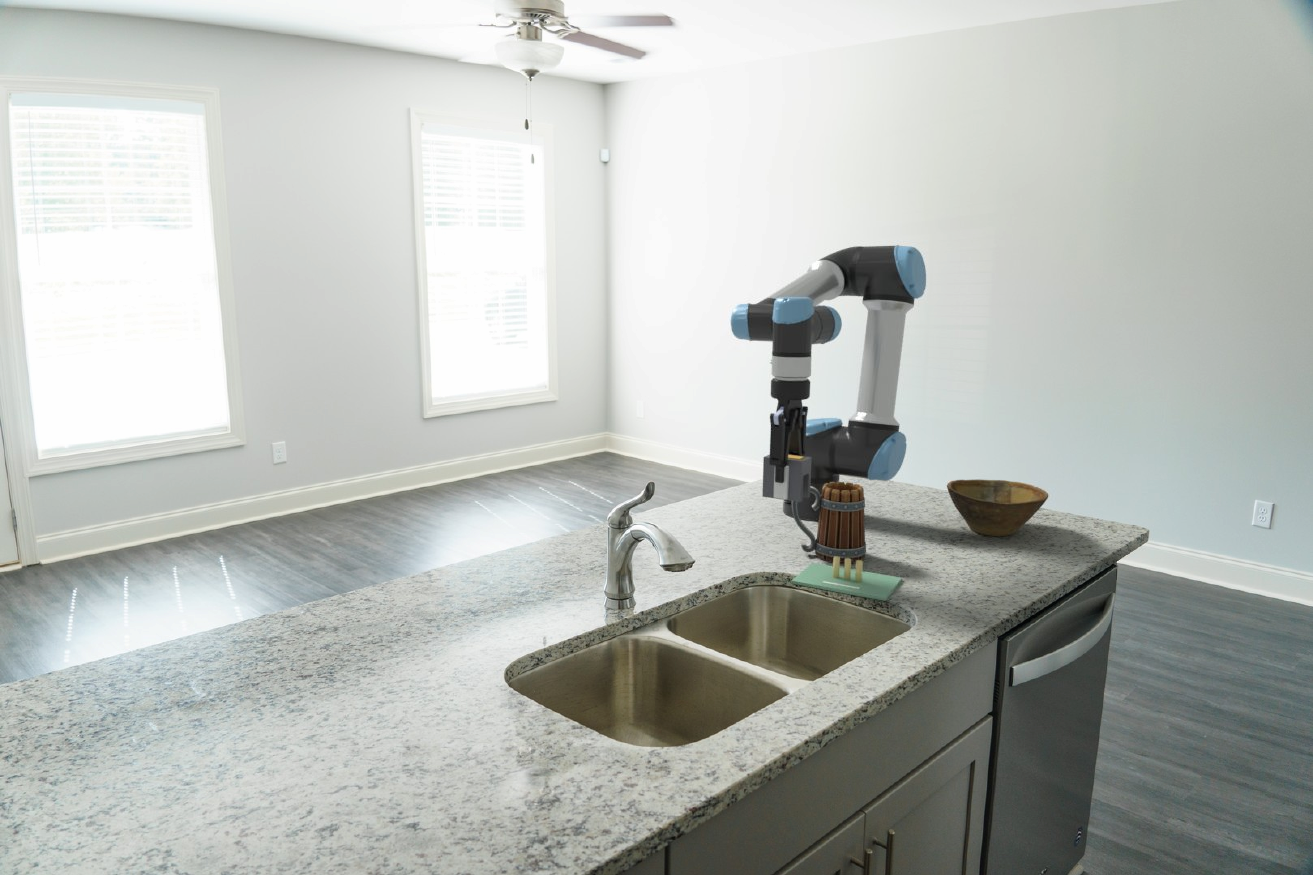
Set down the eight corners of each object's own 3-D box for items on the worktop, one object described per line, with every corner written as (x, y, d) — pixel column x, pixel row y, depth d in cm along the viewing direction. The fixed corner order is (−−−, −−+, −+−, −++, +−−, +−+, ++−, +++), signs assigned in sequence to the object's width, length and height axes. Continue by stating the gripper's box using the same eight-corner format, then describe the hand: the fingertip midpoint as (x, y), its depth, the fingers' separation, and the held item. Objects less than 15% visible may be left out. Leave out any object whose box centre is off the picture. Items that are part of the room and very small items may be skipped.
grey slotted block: (772, 491, 179) (773, 451, 178) (810, 496, 175) (811, 456, 174) (762, 496, 175) (763, 455, 173) (800, 502, 171) (802, 460, 169)
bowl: (1053, 526, 207) (1056, 484, 205) (1035, 552, 188) (1039, 506, 186) (957, 512, 218) (960, 472, 217) (931, 535, 200) (934, 492, 198)
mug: (861, 548, 190) (864, 480, 187) (869, 564, 179) (873, 493, 177) (788, 546, 191) (790, 479, 188) (792, 562, 180) (794, 491, 178)
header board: (812, 565, 179) (813, 543, 178) (901, 580, 170) (903, 557, 169) (791, 583, 169) (792, 560, 168) (885, 600, 160) (886, 576, 159)
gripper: (790, 372, 180) (786, 483, 184) (753, 381, 165) (749, 502, 169) (825, 374, 176) (821, 488, 181) (790, 384, 161) (786, 507, 165)
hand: (786, 494), depth 175 cm, fingers closed on grey slotted block, 5 cm apart
